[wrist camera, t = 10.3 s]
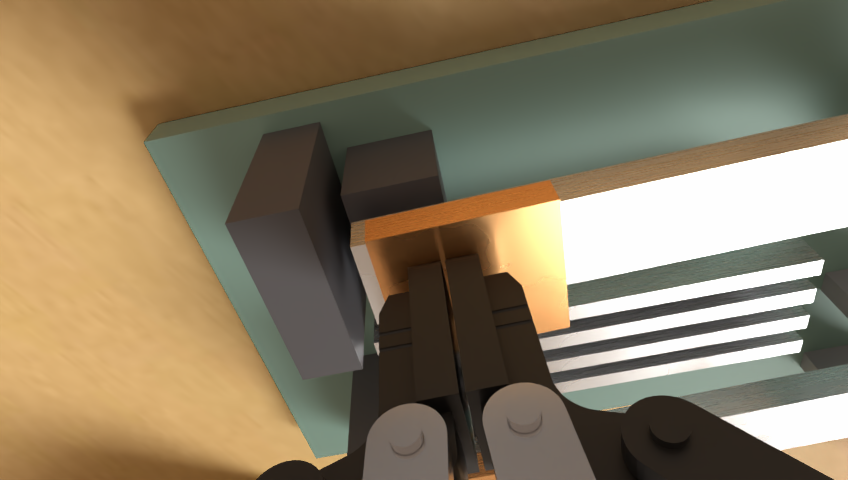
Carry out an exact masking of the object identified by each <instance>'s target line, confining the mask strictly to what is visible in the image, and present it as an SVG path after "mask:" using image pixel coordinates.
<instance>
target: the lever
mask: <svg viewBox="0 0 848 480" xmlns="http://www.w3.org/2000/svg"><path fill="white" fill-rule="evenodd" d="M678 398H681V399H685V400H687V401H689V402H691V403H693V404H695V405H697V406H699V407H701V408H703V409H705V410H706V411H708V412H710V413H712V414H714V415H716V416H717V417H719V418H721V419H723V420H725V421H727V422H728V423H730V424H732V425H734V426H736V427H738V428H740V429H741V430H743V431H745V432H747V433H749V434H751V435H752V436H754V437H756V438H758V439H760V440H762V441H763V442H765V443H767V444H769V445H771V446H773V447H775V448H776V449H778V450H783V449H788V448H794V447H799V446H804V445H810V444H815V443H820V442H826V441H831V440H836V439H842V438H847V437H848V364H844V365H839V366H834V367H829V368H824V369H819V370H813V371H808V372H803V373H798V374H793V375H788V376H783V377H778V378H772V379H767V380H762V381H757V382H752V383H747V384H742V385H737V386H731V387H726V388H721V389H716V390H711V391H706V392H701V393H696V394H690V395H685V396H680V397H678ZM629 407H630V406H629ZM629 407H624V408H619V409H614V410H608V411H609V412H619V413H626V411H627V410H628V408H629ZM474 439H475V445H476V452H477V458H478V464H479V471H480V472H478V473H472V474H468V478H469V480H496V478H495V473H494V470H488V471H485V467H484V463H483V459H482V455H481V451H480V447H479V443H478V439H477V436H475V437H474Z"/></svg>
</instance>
